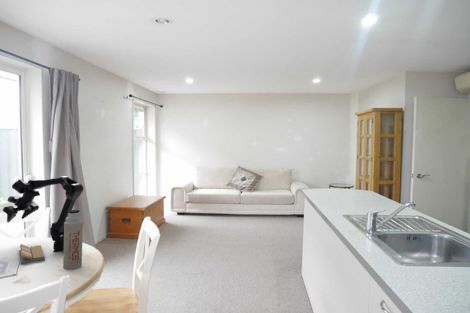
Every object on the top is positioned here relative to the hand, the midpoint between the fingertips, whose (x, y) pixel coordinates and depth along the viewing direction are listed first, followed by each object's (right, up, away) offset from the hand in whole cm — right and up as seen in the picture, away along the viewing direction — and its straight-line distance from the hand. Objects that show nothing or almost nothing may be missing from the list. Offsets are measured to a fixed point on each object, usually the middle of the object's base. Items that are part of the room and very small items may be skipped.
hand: (15, 220), depth 169 cm
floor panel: (+20, -16, -15) cm, 30 cm away
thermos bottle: (+48, -17, -26) cm, 57 cm away
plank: (+18, -13, -17) cm, 28 cm away
